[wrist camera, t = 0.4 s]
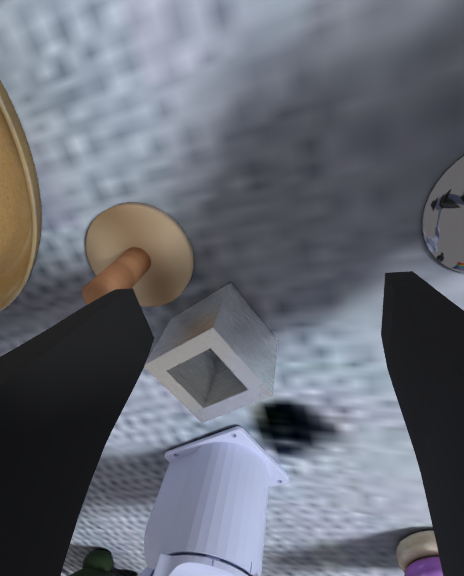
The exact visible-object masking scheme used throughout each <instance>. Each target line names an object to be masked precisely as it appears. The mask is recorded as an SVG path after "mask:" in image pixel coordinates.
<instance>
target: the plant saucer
mask: <svg viewBox="0 0 464 576" xmlns="http://www.w3.org/2000/svg"><path fill="white" fill-rule="evenodd" d="M40 235H41V201H40V193H39V185H38V179H37V174H36V170H35V165H34V161H33V157H32V154H31V151H30V148H29V144H28V142H27V139H26V136H25V133H24V131H23V128H22V125H21V123H20V120H19V118H18V116H17V113H16V111H15V108H14V106H13V104H12V102H11V100H10V98H9V96H8V94H7V92H6V90H5V88H4V86H3V84H2V82H1V80H0V311H2V310H3V309H5V308H6V307H7V306H9V305H10V304H11V303H12V302H13V301H14V300H15V299H16V297H17V296H18V295H19V294H20V292H21V291H22V289H23V288H24V286H25V284H26V282H27V280H28V278H29V276H30V274H31V272H32V269H33V266H34V264H35V261H36V257H37V252H38V248H39V243H40Z"/></svg>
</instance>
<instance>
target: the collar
mask: <svg viewBox="0 0 464 576" xmlns="http://www.w3.org/2000/svg"><path fill="white" fill-rule="evenodd" d="M277 347H278V340H277V339H276V337H275V336H274V335H273V334H272V332H271V331H270V330H269V329H268V328H267V326H266V325H265V324H264V323H263V321H262V320H261V319H260V318H259V316H258V315H257V314H256V313H255V312H254V310H253V309H252V308H251V307H250V305H249V304H248V303H247V302H246V300H245V299H244V298H243V297H242V296H241V294H240V293H239V292H238V291H237V289H236V288H235V287H234V286H233V285H232V283H231V282H230V283H228V284H227V285H225V286H223V287H222V288H220V289H219V290H217V291H215V292H214V293H212V294H210V295H209V296H207V297H205V298H204V299H202V300H200V301H199V302H197V303H196V304H194V305H192V306H191V307H189V308H187V309H186V310H184V311H182V312H181V313H179V314H177V315H176V316H174V317H172V318H171V320H170V322H169V323H168V325H167V327H166V329H165V330H164V332H163V334H162V335H161V337H160V339H159V340H158V342H157V344H156V345H155V347H154V349H153V350H152V352H151V354H150V355H149V357H148V359H147V360H146V363H145V366H144V367H145V368H146V369H147V370H148V371H149V372H150V373H151V374H152V375H153V376H154V377H155V378H157V379H158V380H159V381H160V382H161V383H162V384H163V385H164V386H165V387H166V388H167V389H168V390H169V391H170V392H171V393H172V394H173V395H174V396H175V397H176V398H177V399H178V400H179V401H180V402H181V403H182V404H183V405H184V406H185V407H186V408H187V409H188V410H189V411H190V412H191V413H192V414H193V415H194V416H195V417H196V418H197V419H198V420H200V421H201V422H202V423H203V422H205V421H208V420H211V419H213V418H216V417H218V416H221V415H223V414H226V413H229V412H231V411H234V410H236V409H239V408H242V407H244V406H247V405H249V404H252V403H254V402H257V401H260V400H262V399H265V398H267V397H270V396H273V388H274V378H275V367H276V357H277Z"/></svg>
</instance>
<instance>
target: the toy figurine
mask: <svg viewBox="0 0 464 576" xmlns="http://www.w3.org/2000/svg"><path fill="white" fill-rule="evenodd" d="M112 564H113V558H112V555H111V554H110V552H108V551H105V550H94V551H92V552H90V553H89V554H88V555H87V556H86V558H85V559H84V561H83V569H81V570H79V571H77V572H75V573H73V574H71V575H70V576H113V575H112V574H111V573H110V572H109V571H110V570H111V568H112ZM131 576H135V575H131Z"/></svg>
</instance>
